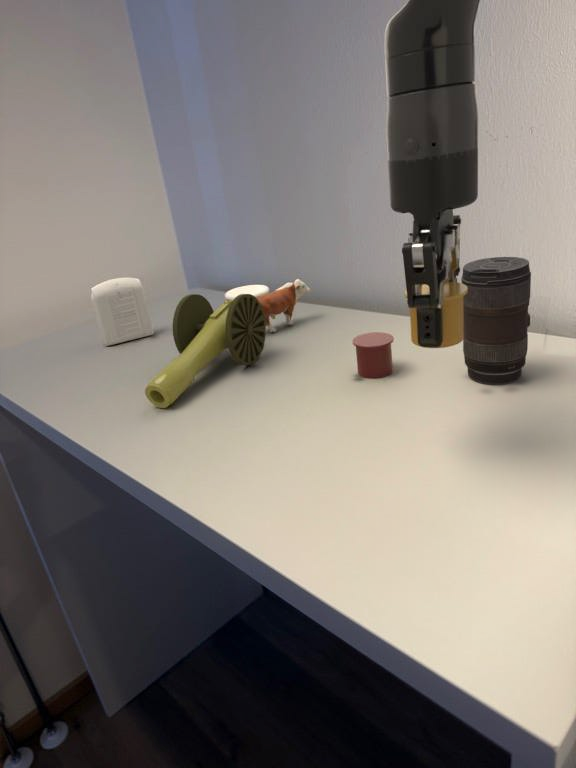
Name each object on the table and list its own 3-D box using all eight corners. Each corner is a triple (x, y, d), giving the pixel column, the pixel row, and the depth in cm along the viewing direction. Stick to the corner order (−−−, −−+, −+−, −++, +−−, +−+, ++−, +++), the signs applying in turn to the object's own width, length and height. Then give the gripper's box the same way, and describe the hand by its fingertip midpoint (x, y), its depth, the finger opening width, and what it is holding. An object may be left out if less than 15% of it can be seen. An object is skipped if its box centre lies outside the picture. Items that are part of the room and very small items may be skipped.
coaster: (253, 313, 115) (251, 297, 113) (218, 311, 120) (215, 295, 119) (279, 299, 122) (277, 284, 121) (245, 298, 128) (242, 283, 126)
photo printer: (152, 330, 114) (137, 272, 109) (156, 335, 110) (142, 275, 105) (102, 343, 110) (85, 283, 105) (105, 348, 106) (88, 287, 101)
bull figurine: (316, 318, 105) (312, 277, 102) (258, 338, 99) (251, 295, 96) (303, 315, 109) (298, 275, 106) (246, 334, 103) (239, 292, 99)
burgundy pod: (383, 360, 82) (381, 329, 80) (403, 372, 77) (401, 339, 75) (348, 369, 80) (345, 338, 78) (366, 383, 75) (363, 349, 73)
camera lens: (473, 360, 78) (473, 255, 72) (533, 366, 73) (539, 255, 67) (453, 382, 72) (451, 271, 66) (517, 391, 67) (521, 272, 61)
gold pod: (445, 324, 57) (443, 278, 55) (480, 339, 52) (481, 289, 50) (396, 337, 55) (393, 290, 53) (428, 354, 50) (426, 303, 48)
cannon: (192, 414, 74) (174, 336, 69) (126, 407, 79) (105, 333, 74) (275, 347, 93) (266, 283, 89) (218, 345, 99) (206, 284, 94)
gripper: (463, 151, 39) (465, 365, 46) (488, 138, 51) (486, 311, 57) (364, 163, 42) (379, 361, 49) (408, 149, 54) (416, 311, 61)
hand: (437, 333), depth 53 cm, fingers closed on gold pod, 5 cm apart
